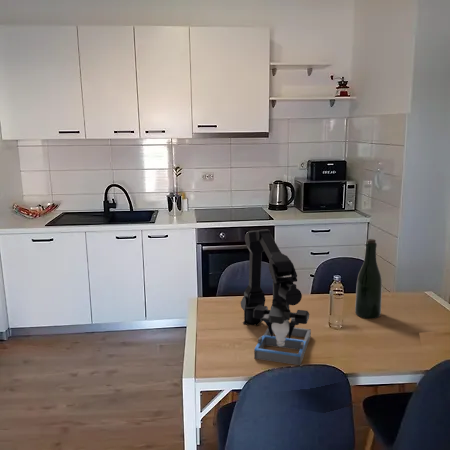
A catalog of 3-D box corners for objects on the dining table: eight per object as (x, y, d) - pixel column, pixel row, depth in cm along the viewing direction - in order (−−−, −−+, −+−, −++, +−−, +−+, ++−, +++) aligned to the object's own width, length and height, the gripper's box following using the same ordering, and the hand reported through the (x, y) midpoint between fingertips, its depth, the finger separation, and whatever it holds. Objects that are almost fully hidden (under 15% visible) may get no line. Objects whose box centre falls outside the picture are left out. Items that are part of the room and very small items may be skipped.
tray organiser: (254, 358, 158) (254, 345, 157) (269, 331, 179) (269, 319, 178) (300, 365, 153) (300, 351, 152) (310, 336, 174) (310, 324, 173)
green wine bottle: (374, 309, 200) (377, 236, 194) (385, 318, 190) (389, 241, 184) (351, 310, 199) (354, 237, 193) (361, 320, 189) (364, 242, 183)
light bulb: (289, 351, 157) (290, 321, 154) (270, 350, 158) (270, 320, 156) (290, 343, 163) (291, 314, 161) (272, 341, 164) (272, 312, 162)
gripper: (248, 300, 152) (248, 343, 155) (304, 306, 146) (303, 351, 149) (257, 289, 163) (257, 330, 166) (309, 294, 157) (308, 337, 160)
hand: (280, 337), depth 160 cm, fingers closed on light bulb, 6 cm apart
